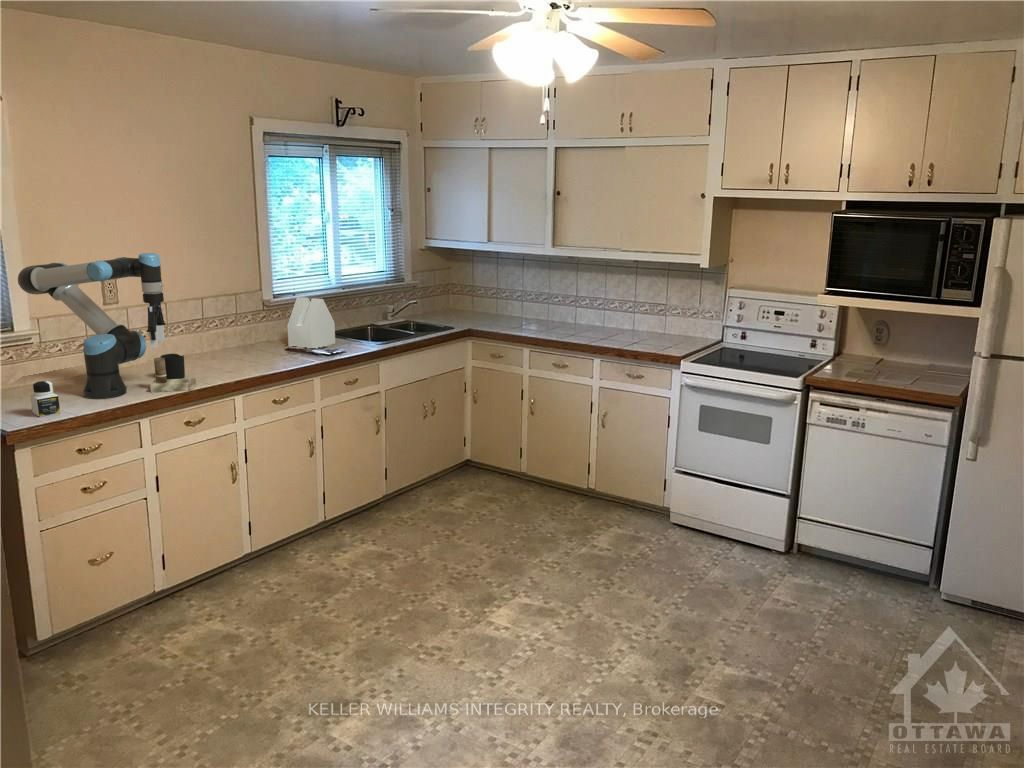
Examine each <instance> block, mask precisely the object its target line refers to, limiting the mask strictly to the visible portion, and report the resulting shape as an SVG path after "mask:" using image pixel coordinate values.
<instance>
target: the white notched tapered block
mask: <svg viewBox="0 0 1024 768" xmlns="http://www.w3.org/2000/svg"><path fill="white" fill-rule="evenodd" d="M286 327H287V342H288V347H289V346H298V347H307V348H316V349H319V348H318V347H320V348H323V346H324V347H326V346H331V345H333V344H336V328H335V321H334V319H333V316H332V314H331V312H330V310H329V309H328V306H327V304H326V302H325V299H323V298H315V297H314V298H311V300H310V299H309V297H306V296H305V297H304V296H297V297H296V299H295V302H294V304H293V309H292V311H291V313H290V317H289V320H288V322H287V326H286Z"/></svg>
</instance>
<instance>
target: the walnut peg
mask: <svg viewBox="0 0 1024 768" xmlns="http://www.w3.org/2000/svg"><path fill="white" fill-rule="evenodd" d="M153 362H154V363H153V364H154V371H155V372H154V373H155V374H154V376H155V377H154V378H155V380H156V383H166V382H167V378H166V376H167V375H166V368H165V358H160V357H154V358H153Z"/></svg>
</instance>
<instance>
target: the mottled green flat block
mask: <svg viewBox="0 0 1024 768" xmlns="http://www.w3.org/2000/svg"><path fill="white" fill-rule="evenodd" d="M196 386H197V380H196V378H194V377H193V378H183V379H167V382H166V383H156V379H154V380H153V381H152V383H151V384H150V386H149V387H150V393H163V392H162V391H173V392H190V391H191V392H193V391H194V390H195V388H196ZM194 387H195V388H194ZM193 389H194V390H193Z"/></svg>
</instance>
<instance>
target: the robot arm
mask: <svg viewBox="0 0 1024 768" xmlns="http://www.w3.org/2000/svg"><path fill="white" fill-rule="evenodd" d="M161 265H162V264H161V260H160V255H159V254H158V253H154V252H150V253H149V252H145V253H143V252H142V253H139V254H138V257H126V256H123V257H120V256H119V257H115V258H114V259H107V260H95V261H91V262H84V263H77V264H70V265H69V264H66V263H64V262H50V263H46V264H36V265H29V266H25V267H24V268H22V269H21V271H20V272H19V274H18V276H17V284H18V285H19V288H20V289H21V290H22V291H24V292H25V293H27V294H30V295H43V294H47V295H49V296H50V297H51V298H52V299H54V301H61V302H62V303H63V304H64V305H65V306H66V307H67V308H68V309H69V310H70V311H71V312H72V313H74V315H76V316H77V318H79V320H81V321H82V322H83V323H84V324H85V325H86V326H87V327H88V328H90V330H91V331H93V332H94V334H95V335H92V336H89V337H87V338H86V339H84V340H83V344H82V345H83V349H82V352H83V357H84V364H85V365H84V366H85V371H86V381H85V385H84V388H83V395H84V397H85V398H86V399H95V400H98V399H99V400H100V399H110V398H116V397H117V398H118V397H119V396H123V395H125V394H126V393H127V386H126V384H125V382H124V380H123V378H122V376H121V373H120V365H122V364H125V363H128V362H129V363H130V362H131V361H132V362H133V361H137V360H138V359H141V358H142V357H143V356H144V355H145V353H146V350H147V342H146V339H145V337H144V335H143V334H142V333H140V332H139V331H137V330H136V331H135V330H130V329H128V328H127V327H126V326H125V325H124V324H118V323H116V322H115V321H114V319H112V318H111V316H109V315H108V313H106V312H105V311H104V310H103V309H102V308H101V307H100V306H99V305H98V304H96V302H94V301H93V299H92V298H91V297H90V296H88V294H86V293H85V292H84V291H83V290H82V289H81V288H80V287H79V285H81V284H88V283H95V282H106V281H110V280H116V279H124V278H132V277H133V278H140V279H141V280H140V281H141V284H140V285H141V292H142V293H143V294H142V301H143V303H145V304H149V306H147V329H146V332H147V333H149V339H150V340H149V343H150V349H159V347H160V345H159V342H165V341H166V339H165V338H166V337H165V329H164V328H165V327H164V326H165V325H166V322H165V319H164V314H163V309H162V305H161V303H164V301H165V298H164V293H163V287H164V286H165V284H164V283H163V282H162V280H163V279H162V270H161Z"/></svg>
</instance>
